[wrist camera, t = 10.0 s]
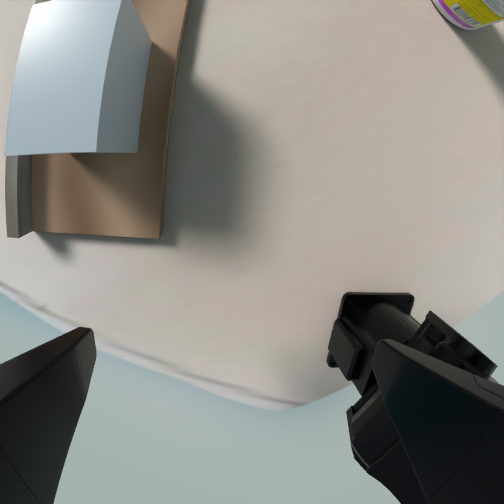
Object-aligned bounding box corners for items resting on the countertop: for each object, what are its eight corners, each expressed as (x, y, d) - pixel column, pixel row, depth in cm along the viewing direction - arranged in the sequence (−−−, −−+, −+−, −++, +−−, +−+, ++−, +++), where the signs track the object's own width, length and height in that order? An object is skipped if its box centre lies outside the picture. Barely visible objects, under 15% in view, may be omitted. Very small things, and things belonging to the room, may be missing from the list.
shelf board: (192, -13, 15) (191, -36, 12) (161, 234, 20) (153, 247, 17) (57, -1, 13) (40, -17, 11) (28, 226, 18) (5, 237, 15)
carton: (152, 41, 15) (125, -12, 8) (137, 153, 17) (96, 152, 10) (81, 46, 14) (29, 6, 8) (66, 153, 16) (1, 156, 9)
